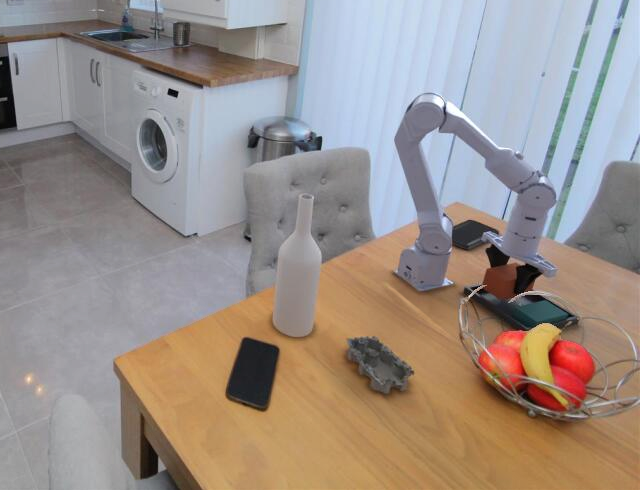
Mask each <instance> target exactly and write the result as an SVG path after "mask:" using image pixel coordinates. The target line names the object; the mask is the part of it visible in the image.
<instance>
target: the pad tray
mask: <svg viewBox="0 0 640 490" xmlns="http://www.w3.org/2000/svg"><path fill="white" fill-rule="evenodd" d="M482 284H483V282H481V283H476V284H472V285H467V286H464V288H463V293H464V294H465V295H466V296H468V295H470V294H471V293H472V292H473V291H474V290H475V289H477V288H478V287H480V286H482ZM532 291H536V290H535V289H534V288H533V289H532ZM542 295H543V294H542ZM542 295H525V296H521V297H519V298H518V299H516V300H514V301H513V302H510V303H508V302H509V301H510V300H511V299H512V298H510V299H506V300H499V299H498V298H496V297H495V296H493V295H492V294H490V293H489V292H487V291H486V290H484V289H483V288H482V289H480V290H479V291H477V292H476V293H475V294H474V295H473V296H472V297H470V299H472V300H473V301H474V302H476V303H478V304H479V305H480V306H482V307H483V308H484V309H486V310H488V311H489V312H490V313H492V314H493V315H494V316H496V317H497V318H498V319H500V320H502V319H503V320H502V321H503V322H504V323H506V324H507V325H509V326H510V327H511V328H512V329H514V330H515V331H517V330H522V331H529V330H531V329H532V328H534V327H536V326H533V327H529V328H527V327H526V326H524V325H523V324H522V323H520V322H519V321H517V320H516V319H514V318H513V317H512V315H513V312H514V309H515V307H518V306H520V305H519V303H521V306H522V305H527V304H531V303H535V302H540V301H544V300H546V301H548V302H549V303H551V304H553V305H554V306H556V307H557V308H559V309H561V310H562V311H564V312H566V313H567V314H568V316H567V318H566V319H562V320H558V321H554V322H550V324H552V325H554V326H556V327H557V328H559V329H563V328H565V327H564V326H565V325H566V324H567V323H568V322H569V321H572V323H571V324H570V325H569V326H568V327H571V326H574V325H578V324H579V321H580V319H581V317H580V316H578V315H577V314H575V313H573V312H572V311H570V310H568V309H567V308H565V307H563V306H562V305H560V304H559V303H557V302H555V301H553V300H552V299H551V298H549V297H547V296H546V295H544V296H542ZM577 318H580V319H579V320H577Z"/></svg>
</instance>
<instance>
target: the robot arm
mask: <svg viewBox="0 0 640 490" xmlns="http://www.w3.org/2000/svg"><path fill="white" fill-rule="evenodd" d="M405 109H406V110H405V112H404V114H403V117H402V119H401V120H400V123H399V126H398V128H397V130H396V133H395V135H394V138H393V141H394V142H393V143H394V145H395V148H396V151H397V154H398V158H399V161H400V164H401V167H402V170H403V173H404V176H405V179H406V183H407V186H408V189H409V192H410V196H411V199H412V201H413V205H414V208H415V210H416V218H417V226H418V230H419V234H418V236H417V237H416V238H415V240H414V243H412V245H410V246H409V247H407V248H403V250H401V253H400V256H399V262H398V266H397V269H395V270H394V271H393V272H394V274H395V275H396V276H398V277H400V278H401V279H403V280H404V281H405V282H407V283H408V284H409V285H410V286H412V287H413V288H414V289H416V291H418V292H424V291H428V290H434V289H438V288H442V287H443V288H444V287H447V286H452V285H454V282H453V281H451V280H450V279H449V278H447V277H446V275H447V270H448V266H449V262H450V258H451V255H452V251H453V247H452V246H453V244H452V230H453V226H454V222H453V220H452V218H451V217H450V216H449V215H447V213H446V212H445V209H444V206H443V205H442V204H441V202H440V199H439V196H438V193H437V191H436V186H435V183H434V180H433V177H432V174H431V170H430V167H429V164H428V160H427V159H426V154H425V151H424V149H423V145H422V141H423V140H424V138H425V137H426V136H427V135H428V134H430V133H432V132H433V131H436V130H437V129H438V132H437V133H439V134H453V135H455V136H456V137H457V138H459V139H460V140H461V141H462V142H464V143H465V144H466V145H468V146H469V147H470V148H471V149H472V150H473V151H475V152H476V153H477V154H478V155H479V156H481V157H482V158H483V159H484V168H485V169H486V170H487V171H488V172H489V173H491V174H492V175H493V176H494V177H495V178H496V179H497V180H499V182H501V183H502V184H503V185H504V186H505V187H506V188H507V189H509V190H510V191H512V192H514V193H516V194H517V195H516V196H515V197H516V198H515V201H514V204H513V206H512V207H511V211H510V214H509V218H508V221H507V225H506V228H505V232H504V235H499V234H498V235H497V234H494V233H492V232H485V233H483V236H482V241H484V243H489V244H491V245H490V246H489V247H486V248H485V251H484V252H485V254H486V256H487V258H488V259H487V260H488V262H489V266H490V267H489V268H492V267H497V266H502V265H507V264H509V261H510V259H511V258H512V259H515V260H517V261H519V262H522V263H524V264H520V266H516V273H517V277H516V283H515V286H514V293H515V294H521V293H524V292H525V291H526V289H527V288H528V286H529V285H530V284H531V283H532V282H533V281H534V280H535V281H536V280H537V279H538V278H540V276H542V275H543V276H544V277H545V278H547V279H548V278H553V277H556V276H557V273H558V270H559V268H558V267H557V266H555V265H554V264H552V263H551V262H550V261H549V260H547V259H546V258H545V257H544V256H542V255H541V254H540V253H539V252H537V251H538V249H539V246H540V242H541V239H542V236H543V233H544V230H545V228H546V224H547V220H548V218H549V211H550V210H551V209H552V208H554V207H555V206H556V205H557V203H558V200H557V193H556V189H555V187H554V186H555V185H554V184H553V181H552V180H551V179H550V178H549V176H548V175H547V174H545V173H544V172H542V170H540V169H535V168H534V167H533V166H532V165H530V164H529V163H528V162H527V161H526V160H525V159H524V158H525V155H524V154H523V153H522V152H521V151H520V150H518V151H516V152H515V151H514V150H513V149H512V148H509V147H500V146H498V145H497V144H496V143H495V142H494V141H493V140H492V139H490V137H489V136H487V134H486V133H484V132H483V131H482V130H481V129H480V128H479V127H478V126H477V125H476V124H475V123H474V122H473V121H472V120H470V118H469V117H468V116H466V115H465V114H464V112H462V111H461V110H460V109H459V108H458V107H456V106H455V105H454V104H453V103H451V102H450V101H448V100H447V102H446V100H445V99H444V97H443V96H442V95H440V94H439V93H437V92H433V91H427V92H423V93H420V94H418V95H417V96H416V97H415V98H414V99H413V100H412V101H411V102H410V103H409V104H408V106H407V107H406V108H405Z"/></svg>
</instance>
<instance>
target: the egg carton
mask: <svg viewBox="0 0 640 490" xmlns="http://www.w3.org/2000/svg"><path fill="white" fill-rule="evenodd" d="M346 342H347V345H348V349H347V350H348V351H347V355H346V358H347V359H348V360H349V362H354V363H357V364H358V370H357V371H358V373H359V374H360V375H361V376H365V377H368V378H369V379H370V384H369V386H370V388H372V390H375V391H378V392H380V393H382V394H384V395H385V394H390V391H391V388H395V389H396V388H397V389H398V390H399V391H401V392H403V391H406V390H407V387H408V381H409V378H410V377H412V376H414V375H415V371H414V369H412V367H411V365H409V363H408V362H406V361H405V360H402V359H401V358H400V356H398V355H397V354H396V353H394V352H393V350H392V349H391V348H390V347H388V346H387V345H385V344H384V343H383V342H381V341H380V340H379V338H378V337H377V336H376V335H373V336H372V337H369V336H368V335H366V336H364V337H363V336H360V337H357V336H356V337H354V338H350V337H346Z"/></svg>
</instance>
